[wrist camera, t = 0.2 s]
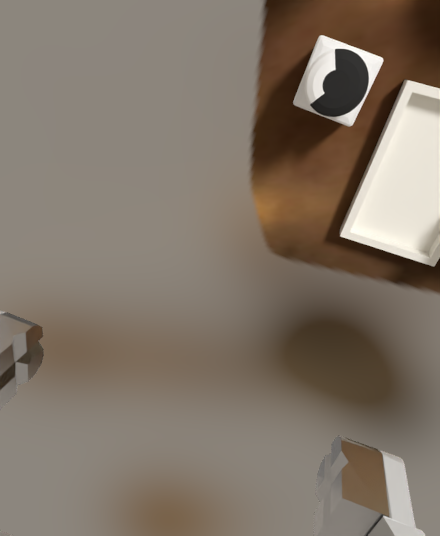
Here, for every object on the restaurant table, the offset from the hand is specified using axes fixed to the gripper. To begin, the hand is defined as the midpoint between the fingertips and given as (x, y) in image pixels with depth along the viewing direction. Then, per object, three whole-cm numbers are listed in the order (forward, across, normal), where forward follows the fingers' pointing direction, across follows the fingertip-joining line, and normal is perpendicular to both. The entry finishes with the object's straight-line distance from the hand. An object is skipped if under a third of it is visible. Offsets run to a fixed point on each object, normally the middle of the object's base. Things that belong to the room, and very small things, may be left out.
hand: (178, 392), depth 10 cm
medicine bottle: (+48, -2, -7) cm, 48 cm away
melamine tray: (+48, -16, +2) cm, 50 cm away
